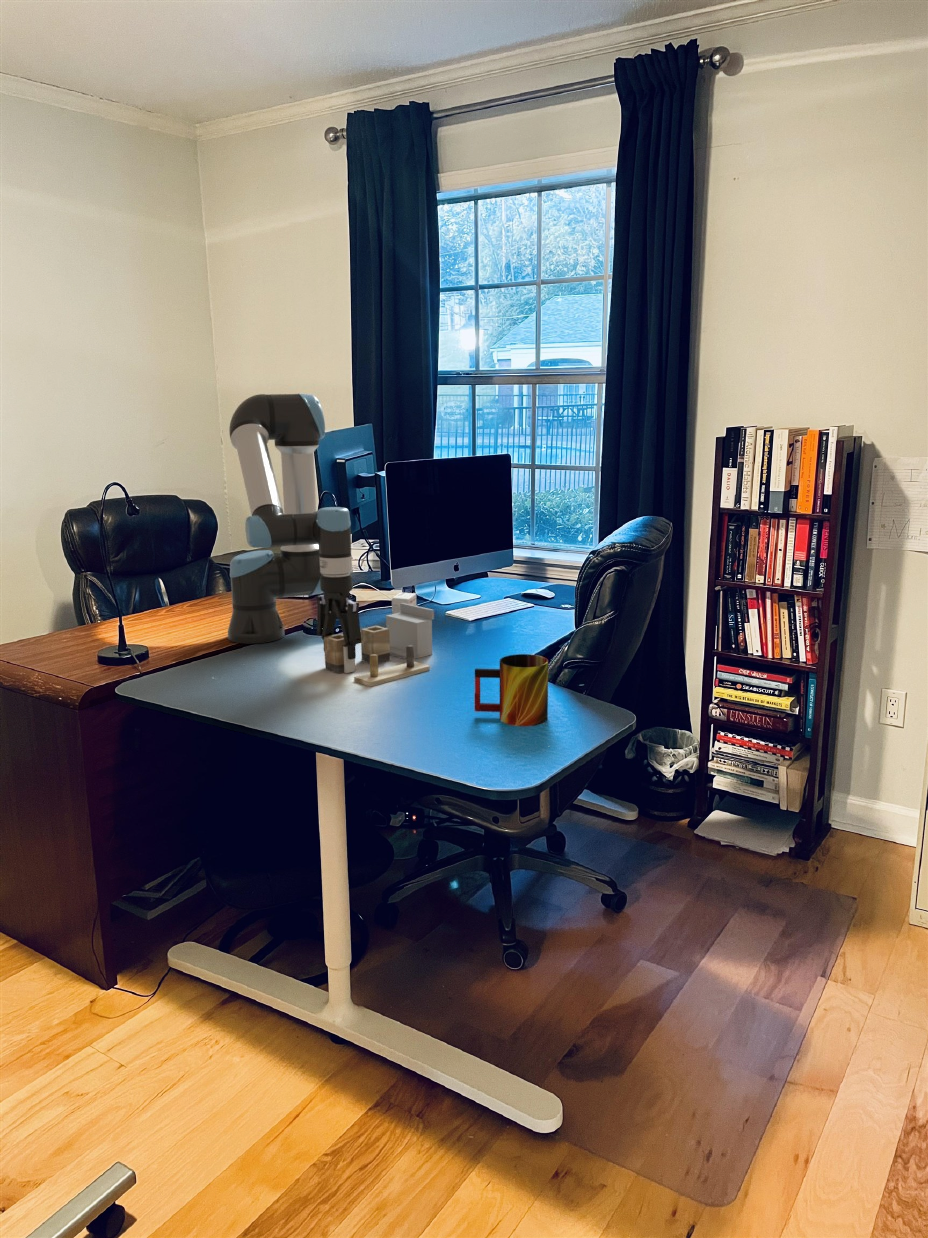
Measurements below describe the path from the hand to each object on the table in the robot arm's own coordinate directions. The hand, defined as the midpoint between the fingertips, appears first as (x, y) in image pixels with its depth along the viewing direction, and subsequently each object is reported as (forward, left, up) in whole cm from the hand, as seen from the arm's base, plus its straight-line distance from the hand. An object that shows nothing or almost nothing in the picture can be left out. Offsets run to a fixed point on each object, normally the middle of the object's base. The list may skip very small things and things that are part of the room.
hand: (340, 668), depth 215 cm
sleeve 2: (0, +11, 0) cm, 11 cm away
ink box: (-12, +31, -1) cm, 33 cm away
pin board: (+13, +6, 0) cm, 14 cm away
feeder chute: (0, +21, 0) cm, 21 cm away
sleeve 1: (0, 0, 0) cm, 0 cm away
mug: (+54, +3, -1) cm, 54 cm away
